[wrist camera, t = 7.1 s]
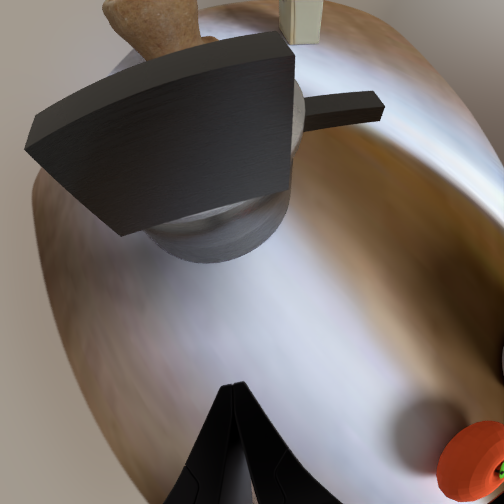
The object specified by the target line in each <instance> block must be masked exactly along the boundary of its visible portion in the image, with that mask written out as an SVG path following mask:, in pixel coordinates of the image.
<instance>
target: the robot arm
mask: <svg viewBox="0 0 504 504" xmlns="http://www.w3.org/2000/svg"><path fill="white" fill-rule="evenodd" d="M185 465H186V466H184V467H183V470H182V472H181V474H180V476H179V478H178V480H177V482H176V483H175V485H174V487H173V489H172V490H171V492H170V494H169V495H168V497H167V498H166V500H165V501H164V503H163V504H253V502H252V489H251V480H252V484H253V487H254V491H255V494H256V497H257V501H258V504H343V503H341V502H340V501H339V500H338V499H337V498H336V497H334V496H333V495H332V494H331V493H330V492H329V491H328V490H327V489H325V488H324V487H323V486H322V485H321V484H320V483H319V482H318V481H317V480H316V479H315V478H314V477H313V476H312V475H311V474H310V473H309V472H308V471H307V470H306V469H305V468H304V467H303V466H302V464H301V463H300V462H299V461H298V459H297V458H296V457H295V455H294V454H293V453H292V451H291V450H290V449H289V447H288V446H287V444H286V443H285V441H284V440H283V439H282V437H281V436H280V434H279V433H278V431H277V430H276V428H275V427H274V426H273V424H272V423H271V421H270V420H269V418H268V417H267V415H266V414H265V412H264V411H263V409H262V408H261V406H260V404H259V403H258V401H257V400H256V398H255V397H254V395H253V394H252V392H251V391H250V389H249V387H248V386H247V384H246V383H245V382H244V381H241V382H237V383H234V384H227V385H223V386H221V387H220V389H219V391H218V393H217V395H216V398H215V400H214V402H213V404H212V407H211V409H210V411H209V413H208V416H207V418H206V420H205V422H204V424H203V427H202V429H201V431H200V433H199V435H198V437H197V440H196V442H195V444H194V446H193V448H192V450H191V453H190V455H189V457H188V459H187V461H186V463H185ZM488 504H504V491H503V492H501V493H500V494H499V495H498V496H497V497H495V498H494V499H493V500H492V501H490V502H489V503H488Z"/></svg>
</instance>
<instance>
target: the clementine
mask: <svg viewBox="0 0 504 504" xmlns="http://www.w3.org/2000/svg"><path fill="white" fill-rule="evenodd" d="M436 476H437V481H438V486H439V488H440V490H441V491H442V492H443V493H444V495H445V496H446V497H448V498H450V499H453V500H455V501H458V502H469V501H475V500H477V499H480V498H482V497H485V496H487V495H488V494H490V493H491V492H493V491H494V490H495V489H496V488H497V487H498V486H499V485H500V484H501V483H502V482H503V481H504V425H503V424H501V423H499V422H495V421H482V422H477V423H475V424H472V425H470V426H468V427H466V428H464V429H463V430H461V431H460V432H459V433H458V434H456V435H455V436H454V437H453V438H452V440H451V441H450V442H449V443H448V444H447V446H446V447H445V448H444V450H443V452H442V454H441V456H440V459H439V462H438V465H437V472H436Z"/></svg>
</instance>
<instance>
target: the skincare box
mask: <svg viewBox="0 0 504 504" xmlns="http://www.w3.org/2000/svg"><path fill="white" fill-rule="evenodd" d="M322 7H323V0H279V28H280V30H281V31H282V33H283V35H284V36H285V38H286V40H287V41H288V43H289V44H290V45H296V44H318V43H319V36H320V27H321V17H322Z"/></svg>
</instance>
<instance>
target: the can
mask: <svg viewBox="0 0 504 504" xmlns="http://www.w3.org/2000/svg"><path fill="white" fill-rule="evenodd" d="M502 368H503V374H504V348H503V354H502Z"/></svg>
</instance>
